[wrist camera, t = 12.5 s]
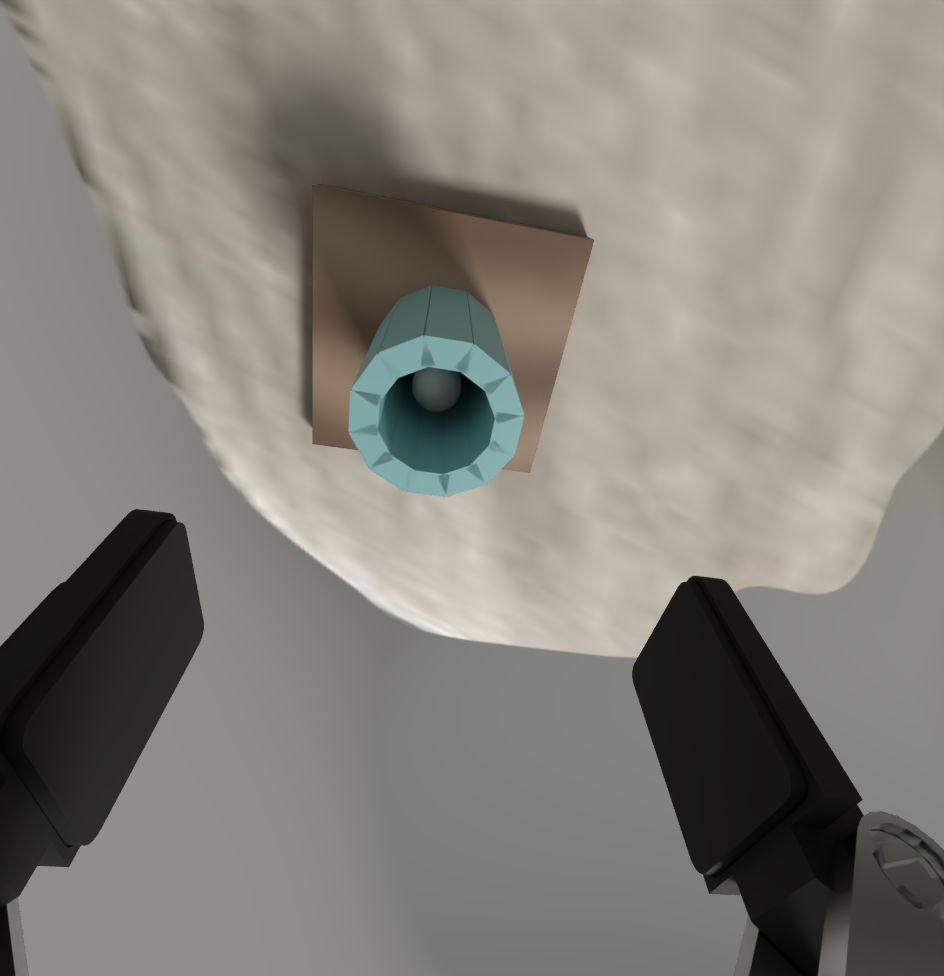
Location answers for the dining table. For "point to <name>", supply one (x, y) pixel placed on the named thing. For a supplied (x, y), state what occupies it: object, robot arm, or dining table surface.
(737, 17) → the dining table surface
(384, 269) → the pin board
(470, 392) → the sleeve
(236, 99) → the dining table surface
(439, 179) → the dining table surface
